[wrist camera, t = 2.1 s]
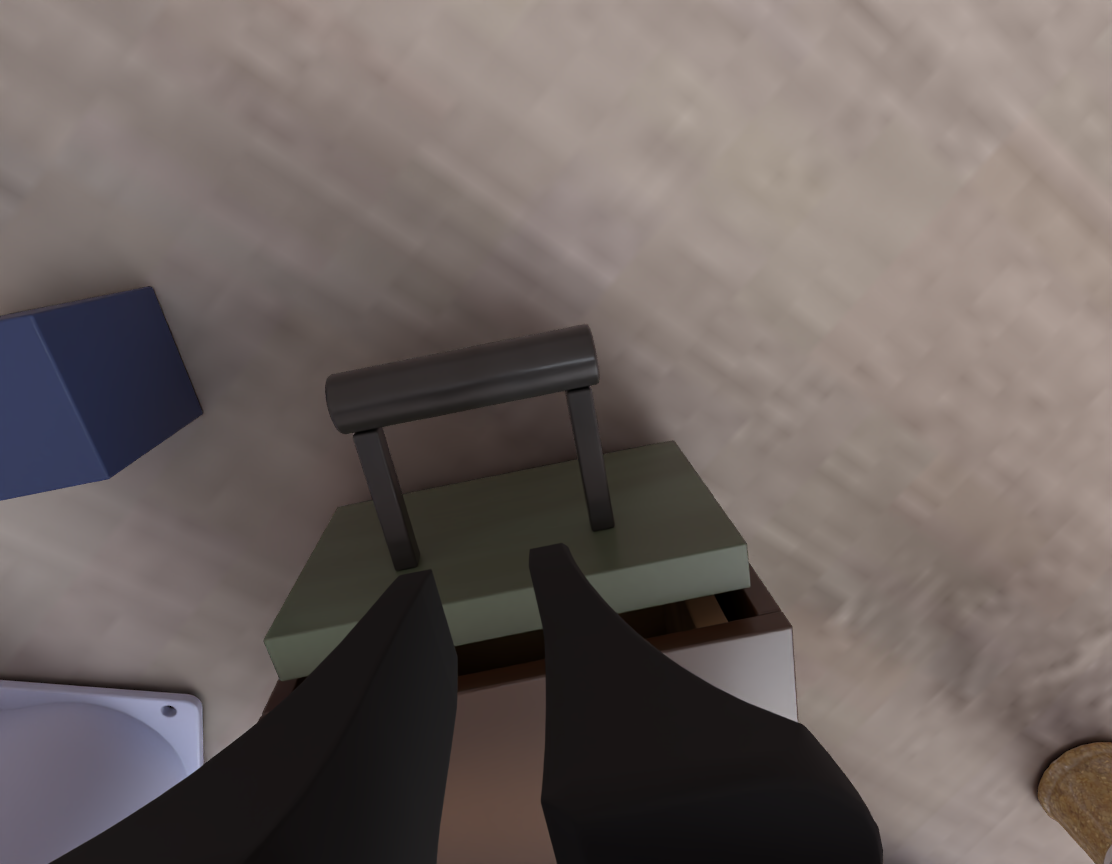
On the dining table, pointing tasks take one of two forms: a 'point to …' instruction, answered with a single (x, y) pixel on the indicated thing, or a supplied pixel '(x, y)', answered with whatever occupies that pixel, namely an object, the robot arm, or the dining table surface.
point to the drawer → (508, 516)
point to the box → (87, 390)
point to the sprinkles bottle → (1082, 797)
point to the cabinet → (520, 713)
